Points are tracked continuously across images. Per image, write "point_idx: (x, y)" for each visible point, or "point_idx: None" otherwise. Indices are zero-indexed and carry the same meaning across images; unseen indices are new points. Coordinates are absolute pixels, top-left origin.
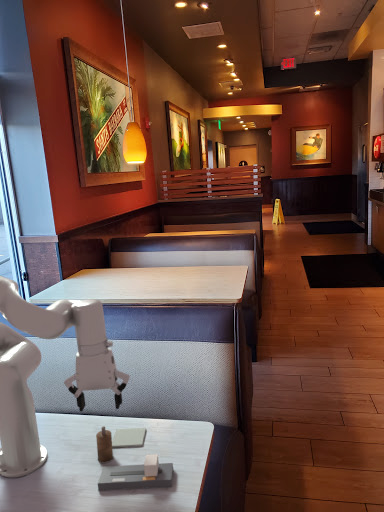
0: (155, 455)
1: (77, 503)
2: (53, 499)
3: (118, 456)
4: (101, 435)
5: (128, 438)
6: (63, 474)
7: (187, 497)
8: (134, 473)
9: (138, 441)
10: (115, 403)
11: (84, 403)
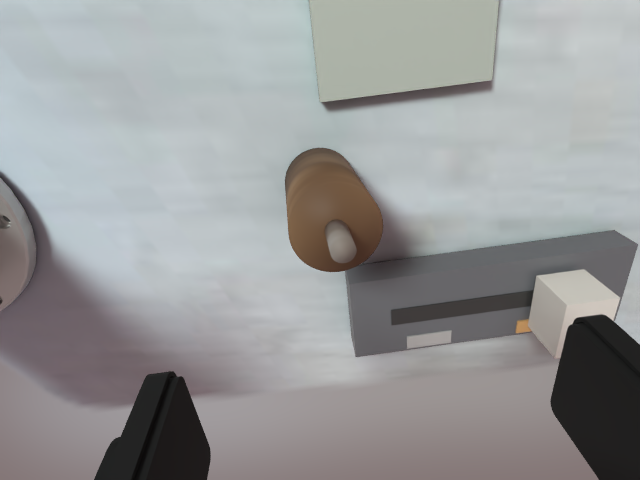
0: (608, 305)
1: (300, 377)
2: (213, 373)
3: (375, 158)
4: (326, 244)
5: (407, 24)
6: (175, 277)
7: (632, 329)
8: (484, 309)
9: (470, 53)
10: (592, 465)
11: (177, 423)
